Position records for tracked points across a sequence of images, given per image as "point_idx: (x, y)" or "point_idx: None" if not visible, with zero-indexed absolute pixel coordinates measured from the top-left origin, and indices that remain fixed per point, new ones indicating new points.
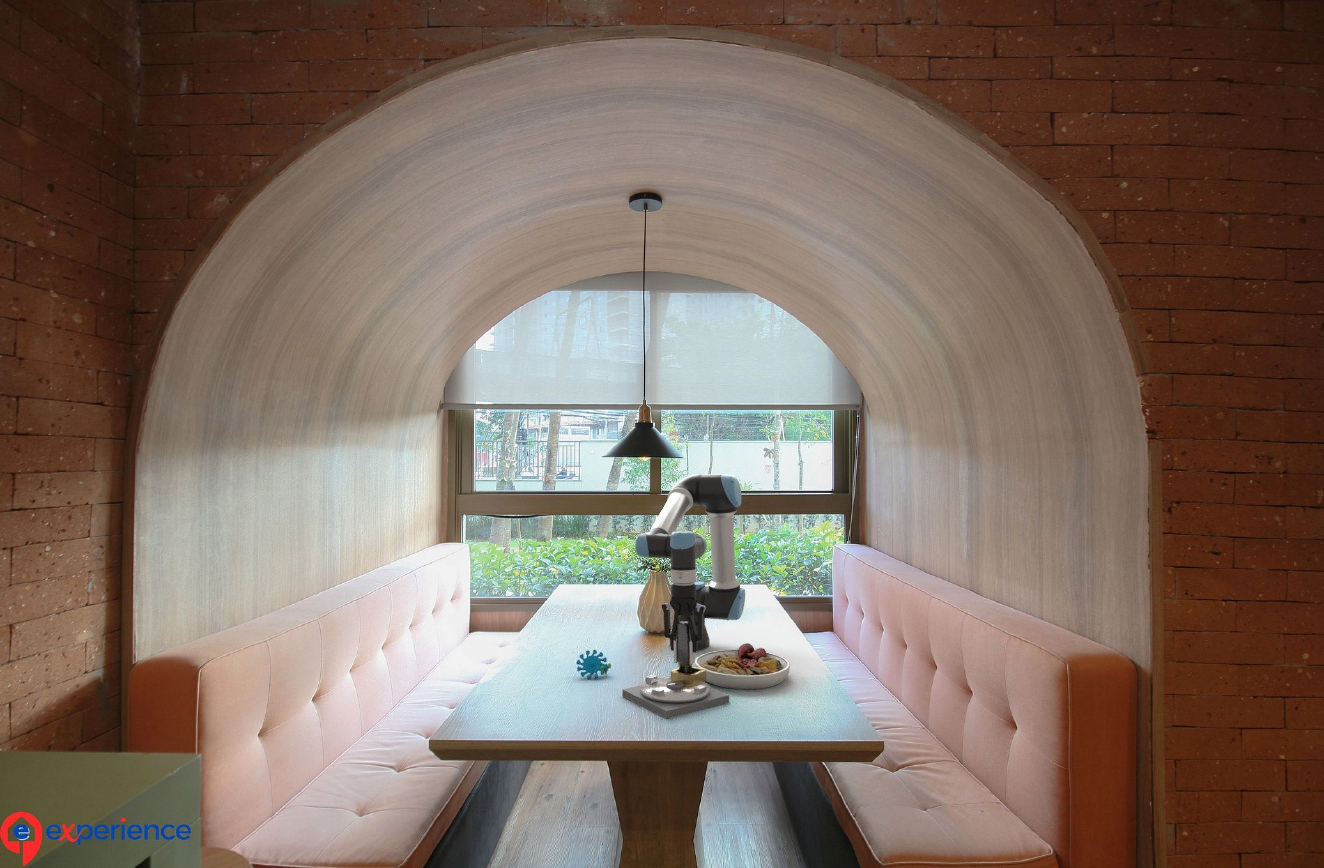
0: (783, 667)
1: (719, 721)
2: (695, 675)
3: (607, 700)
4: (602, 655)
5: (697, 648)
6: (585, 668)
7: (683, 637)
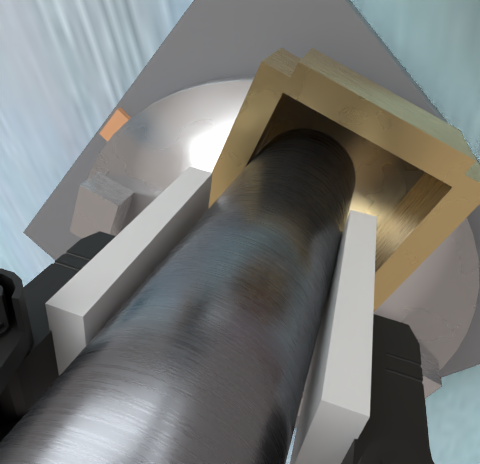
0: None
1: (467, 458)
2: (378, 304)
3: (20, 258)
4: None
5: (415, 373)
6: None
7: None
